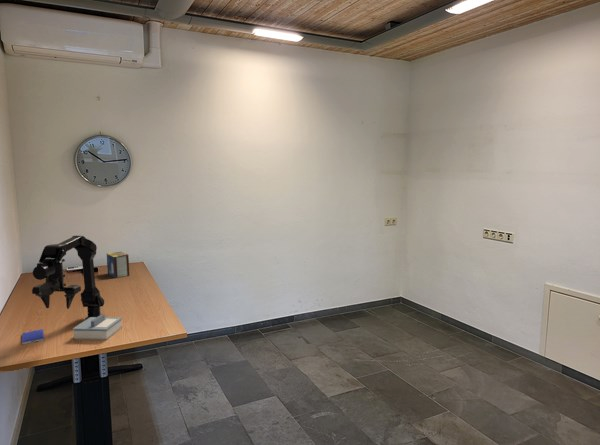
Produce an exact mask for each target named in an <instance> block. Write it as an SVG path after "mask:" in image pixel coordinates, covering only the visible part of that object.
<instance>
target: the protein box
mask: <svg viewBox="0 0 600 445" xmlns="http://www.w3.org/2000/svg"><path fill="white" fill-rule="evenodd" d="M129 257H130V256H129V254H127V253H125V252H122V251H115V252H108V253H106V263H107V264H106V269H107V275H109V276H110V277H112V278H114V279H119V278H123V277H124V278H125V277H130V275H131V274H130V260H129Z"/></svg>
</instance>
